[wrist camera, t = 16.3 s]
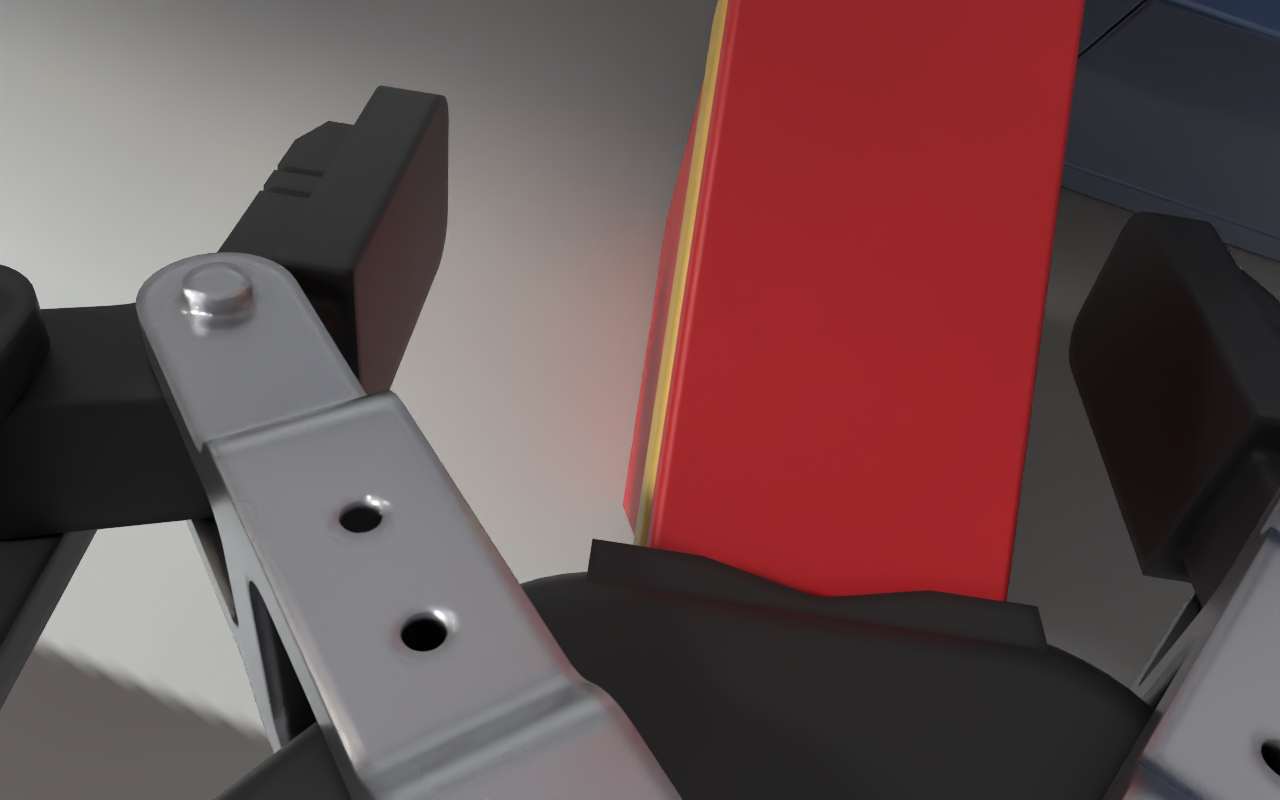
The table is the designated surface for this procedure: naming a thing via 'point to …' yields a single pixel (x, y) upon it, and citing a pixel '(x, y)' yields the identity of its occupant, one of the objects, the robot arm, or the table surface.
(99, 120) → the table surface
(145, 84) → the table surface
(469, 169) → the table surface
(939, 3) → the red box
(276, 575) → the robot arm
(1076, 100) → the tray
